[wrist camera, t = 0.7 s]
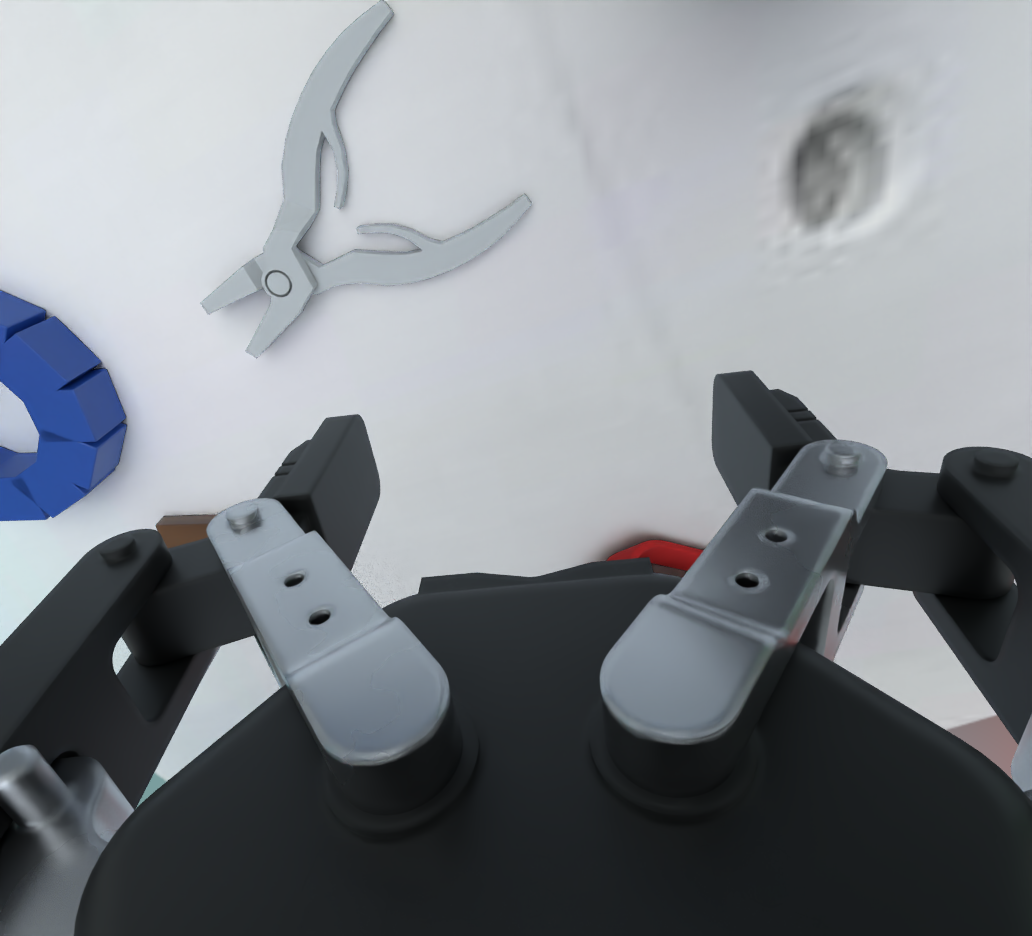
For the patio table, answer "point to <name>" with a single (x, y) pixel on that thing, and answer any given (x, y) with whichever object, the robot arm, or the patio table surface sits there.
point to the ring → (55, 414)
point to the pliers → (294, 271)
